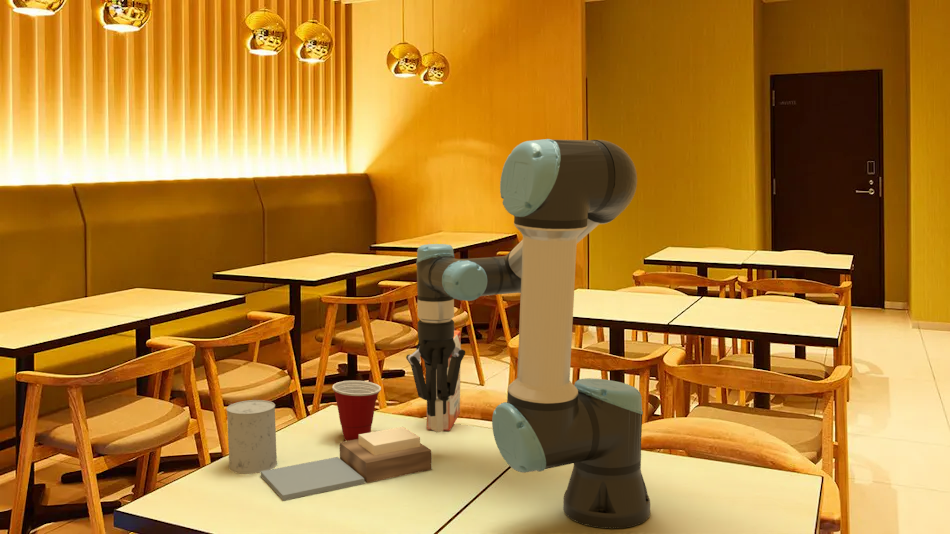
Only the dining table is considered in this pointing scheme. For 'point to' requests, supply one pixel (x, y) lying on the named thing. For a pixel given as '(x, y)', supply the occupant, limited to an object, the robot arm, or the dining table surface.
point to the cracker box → (454, 400)
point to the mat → (311, 478)
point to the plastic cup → (356, 406)
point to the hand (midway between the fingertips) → (436, 429)
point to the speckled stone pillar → (251, 436)
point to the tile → (389, 440)
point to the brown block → (384, 461)
